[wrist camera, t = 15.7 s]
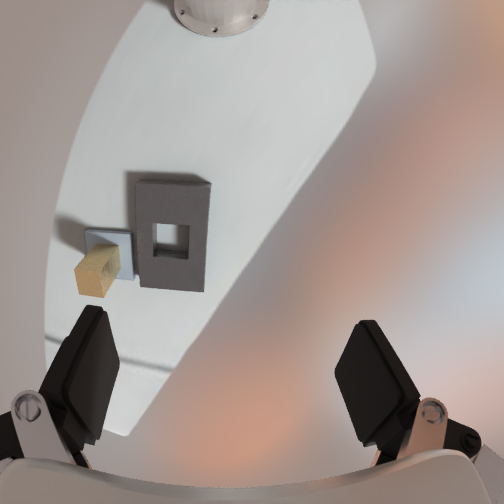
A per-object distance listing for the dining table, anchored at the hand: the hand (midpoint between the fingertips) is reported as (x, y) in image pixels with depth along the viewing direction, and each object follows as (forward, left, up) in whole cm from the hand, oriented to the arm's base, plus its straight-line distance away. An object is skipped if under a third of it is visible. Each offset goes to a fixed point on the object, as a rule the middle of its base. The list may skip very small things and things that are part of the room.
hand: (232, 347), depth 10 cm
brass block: (+13, -17, -29) cm, 36 cm away
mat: (+13, -17, -30) cm, 37 cm away
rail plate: (+9, -7, -30) cm, 32 cm away
